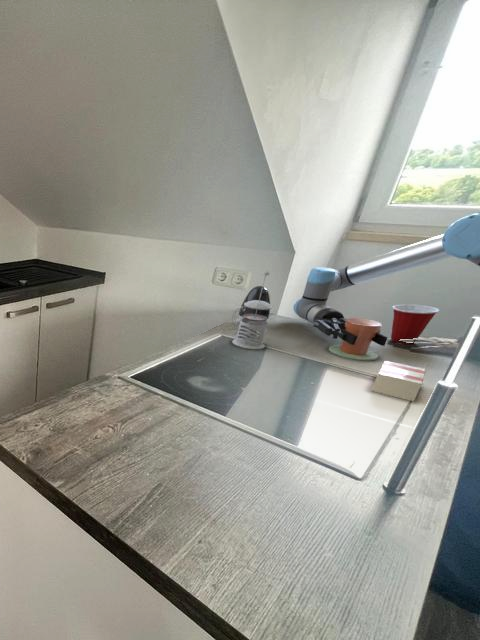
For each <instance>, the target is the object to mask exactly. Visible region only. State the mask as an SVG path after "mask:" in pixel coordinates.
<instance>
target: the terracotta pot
mask: <svg viewBox="0 0 480 640" xmlns="http://www.w3.org/2000/svg"><path fill="white" fill-rule="evenodd" d="M345 319H346V322H345V325H344V326H345V327H346V328H345V330H346V331H348V332H350V333H351V334H353V335H355V336H357V339H356V341H355V344H354V345H351V344H349V343H348V342H346V341H344V340H342V341H341V344H340V345H341V347H340V350H341V351H342V352H345V353H348V354H352V355H366V354H367V351H368V350H370V346H371V344H372V342H373V341H372V339H373V338H374V337H375V336H376V333H377V332H379V331H380V330H381V329H382V327H383V324H382V323H381V322H380V321H378V320H377V321H376V320H373V319H369V318H362V317H347V318H345ZM380 332H381V331H380Z"/></svg>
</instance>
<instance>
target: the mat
mask: <svg viewBox="0 0 480 640" xmlns="http://www.w3.org/2000/svg"><path fill="white" fill-rule="evenodd" d="M340 347H341V344H333V345H330V346H329V347H328V351H329V352H330V353H332V354H334V355H336V356H339V357H343V358H347V359H351V360H355V361H375V360H378V357H379V355H378V354H377V353H376V352H374V351H372V350H370V349H368V351H367V354H366V355H352V354H348V353H345V352H342V351H341V350H340Z"/></svg>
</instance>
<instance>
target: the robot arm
mask: <svg viewBox="0 0 480 640" xmlns="http://www.w3.org/2000/svg"><path fill="white" fill-rule="evenodd" d="M450 258H457V259H461V260H463V259H464V260H468V261H469V262H470V263H473V264H475V265H476V266H478V267H480V212H474V213H471V214H467V215H465V216H463V217H461V218H459V219H457V220H456V221H454V222H453V223H451V225H449V226H448V227H447V229H446V230H445V231H444V232H443V234H441V235H437V236H433V237H431V238H428V239H426V240H425V239H424V240H422V241H419V242H416V243H413V244H410V245H407V246H404V247H401V248H398V249H395V250H392V251H388V252H386V253H383V254H380V255H376V256H374V257H371V258H368V259H365V260H362V261H359V262H355V263H352V264H349V265H347V266H343V267H340V268H336V269H334V268H331V267H313V268H312V269H311V270H310V271H309V274H308V276H307V280H306V283H305V287H304V290H303V294H302V296H301V298H299V299H297V300H296V302H295V303H294V304H293V312H294V313H295V315H297V316H298V317H299V318H301V319H303V320H305V321H307V322H308V323H310V324H312V325H313V327H314V328H316V329H318V330H319V331H320V332H322V333H323V334H324V335H325V336H328V337H329V336H330V337H331V335H332V339H333V340H334V339H335V340H337V339H338V338H339V339H340V340H342V341H343V340H344V341H346V342H348V343H349V344H351V345H354V344H355V341H356V339H357V336H355V335H353V334H351V333H350V332H348V331H346V330H345V328H346V327H345V326H344V325H345V322H346V319H347V318H345V316H344V314H343V313H342V312H341V311H339V310H336V309H334V308H333V307H331V306H329V305H327V301H328V299H329V296H330V293H331V292H334V291H338V290H343V289H347V288H349V287H352V286H355V285H358V284H362V283H366V282H369V281H373V280H376V279H380V278H383V277H387V276H389V275H394V274H397V273H402V272H404V271H407V270H411V269H414V268H417V267H421V266H426V265H429V264H432V263H435V262H439V261H443V260H446V259H450ZM388 338H389V337H388V336H385V335H384V334H382V333H381V329H380V331H379V332H377V333H376V336H375V337H374V338H373V339H372V341H371V342H373V343H376V344H377V345H379V346H381V347H385V346H386V343H387V341H388Z"/></svg>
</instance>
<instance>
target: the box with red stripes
mask: <svg viewBox="0 0 480 640" xmlns="http://www.w3.org/2000/svg"><path fill="white" fill-rule="evenodd" d="M425 374H426V368H422V367H417V366H412V365H408V364H404V363H398V362H394V361H390V360H384V361H383V363H382V365H381V367H380V369H379V371H378V373H377V376H376V378H375V380H374V383H373V385H372V388H371V390H370V391H372V392H375V393H379V394H383V395H386V396H390V397H393V398H399V399H402V400H406V401H411V402H415V400H416V397H417V395H418V394H419V391H420V390H421V387H422V385H423V382H424V377H425Z"/></svg>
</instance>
